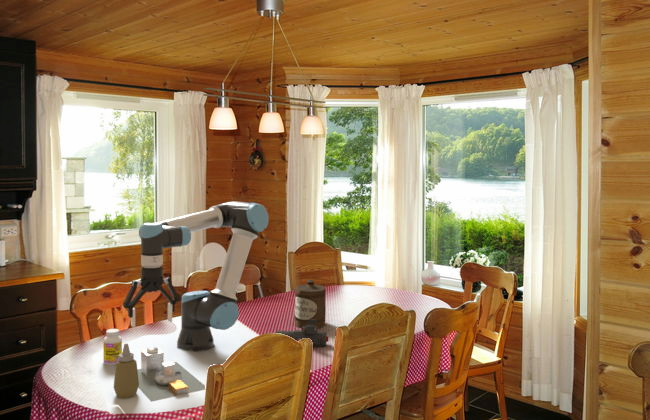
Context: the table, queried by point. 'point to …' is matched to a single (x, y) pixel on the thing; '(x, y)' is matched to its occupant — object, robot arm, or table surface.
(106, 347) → the supplement bottle
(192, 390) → the mat
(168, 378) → the grey copper fixture base
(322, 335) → the laser sight
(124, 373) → the squeeze bottle
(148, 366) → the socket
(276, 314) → the table surface
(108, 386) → the table surface
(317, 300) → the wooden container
